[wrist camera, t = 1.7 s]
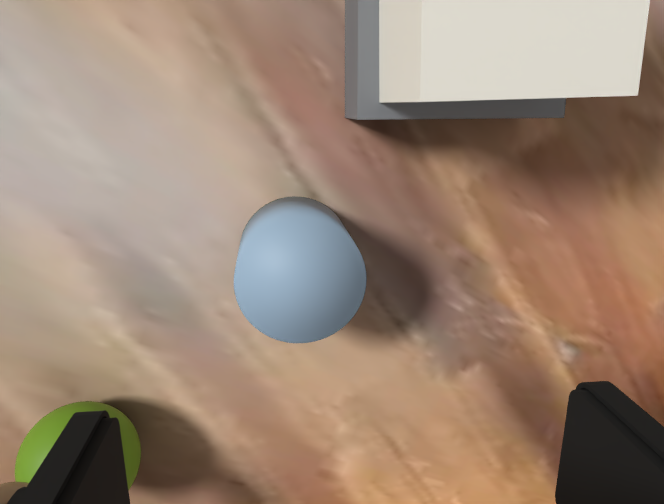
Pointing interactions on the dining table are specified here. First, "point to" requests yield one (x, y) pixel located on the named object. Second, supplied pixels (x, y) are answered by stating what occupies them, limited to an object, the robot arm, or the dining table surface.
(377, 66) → the tower base
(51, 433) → the snail figurine
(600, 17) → the tower block
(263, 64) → the dining table surface
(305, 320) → the pale blue rounded part
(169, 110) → the dining table surface
